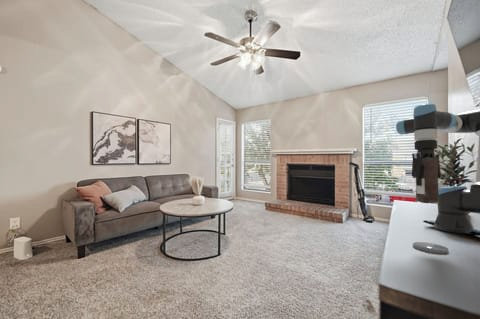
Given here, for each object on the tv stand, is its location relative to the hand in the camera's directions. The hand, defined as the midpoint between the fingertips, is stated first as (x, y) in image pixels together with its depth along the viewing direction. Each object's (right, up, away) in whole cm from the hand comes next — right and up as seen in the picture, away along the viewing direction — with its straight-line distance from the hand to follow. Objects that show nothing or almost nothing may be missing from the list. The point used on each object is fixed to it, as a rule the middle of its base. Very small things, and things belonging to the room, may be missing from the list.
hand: (427, 193), depth 93 cm
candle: (0, -4, 0) cm, 4 cm away
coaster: (-2, -22, -4) cm, 22 cm away
